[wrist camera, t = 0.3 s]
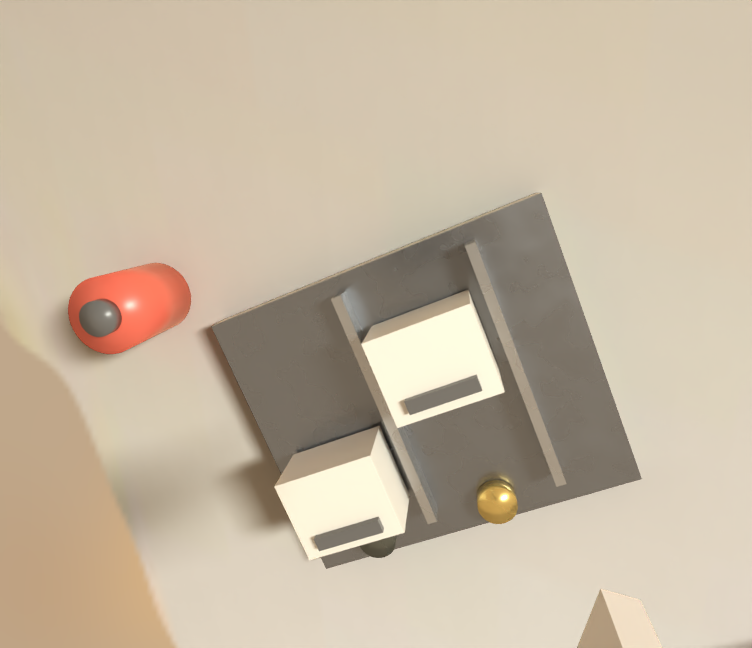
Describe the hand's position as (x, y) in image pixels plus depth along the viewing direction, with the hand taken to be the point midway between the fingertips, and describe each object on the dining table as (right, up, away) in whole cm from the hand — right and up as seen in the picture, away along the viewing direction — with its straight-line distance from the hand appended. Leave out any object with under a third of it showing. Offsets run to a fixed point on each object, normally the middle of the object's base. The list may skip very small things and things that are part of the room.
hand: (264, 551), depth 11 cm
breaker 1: (+1, -5, +24) cm, 25 cm away
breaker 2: (+6, +3, +21) cm, 22 cm away
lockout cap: (-12, +6, +26) cm, 29 cm away
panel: (+5, 0, +25) cm, 25 cm away
